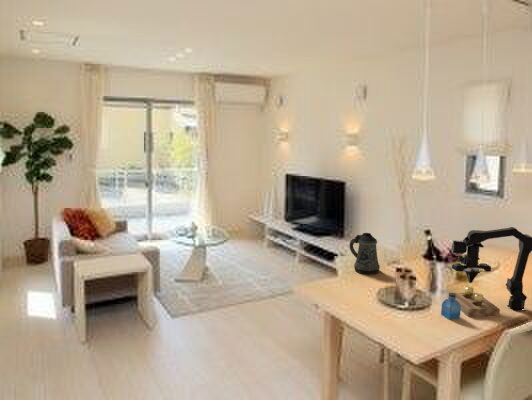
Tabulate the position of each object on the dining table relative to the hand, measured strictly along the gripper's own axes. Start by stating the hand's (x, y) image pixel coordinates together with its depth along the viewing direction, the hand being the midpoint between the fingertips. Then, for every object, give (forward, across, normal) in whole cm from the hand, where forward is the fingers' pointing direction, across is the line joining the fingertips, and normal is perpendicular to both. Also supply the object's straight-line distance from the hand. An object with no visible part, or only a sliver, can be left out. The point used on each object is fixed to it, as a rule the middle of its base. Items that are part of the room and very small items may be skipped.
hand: (470, 282), depth 232 cm
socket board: (+12, 0, +5) cm, 13 cm away
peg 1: (+7, 0, 0) cm, 7 cm away
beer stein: (+12, +42, -55) cm, 70 cm away
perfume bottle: (+12, +17, +16) cm, 26 cm away
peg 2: (+7, 0, +10) cm, 12 cm away
